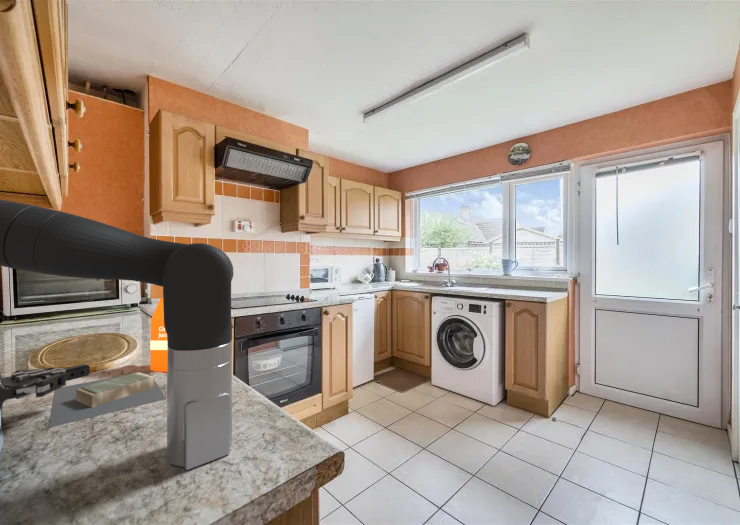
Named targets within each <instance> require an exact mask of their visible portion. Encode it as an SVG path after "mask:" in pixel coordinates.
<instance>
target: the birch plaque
mask: <svg viewBox="0 0 740 525" xmlns="http://www.w3.org/2000/svg"><path fill="white" fill-rule="evenodd" d="M120 376H121V377H118V376H117V377H118V378H114V379H110V380H107V381H103V382H99V383H96V384H92V385H88V386H85V387H82V388H79V389H76V401H78V402H81V403H83V404H85V405H88V406H90V407H95V406H98V405H102V404H105V403H108V402H111V401H114V400H117V399H120V398H123V397H126V396H129V395H133V394H136V393H139V392H142V391H145V390H148V389H151V388H154V387H155V382H156V377H155V376H149V375H146V374H143V373H140V371H139V372H132V373H129V374H125V376H124V375H120Z"/></svg>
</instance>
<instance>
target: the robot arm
mask: <svg viewBox="0 0 740 525" xmlns="http://www.w3.org/2000/svg"><path fill="white" fill-rule="evenodd" d="M0 266H1V267H4V268H10V269H13V270H20V271H26V272H31V273H32V272H33V273H37V274H44V275H50V276H58V277H68V278H78V279H93V280H94V279H95V280H118V281H119V280H120V281H121V280H122V281H134V282H139V283H145V284H149V285H152V286H153V285H154V286H158V287H162V298H163V309H164V327H165V331H166V334H167V346H168V347H167V371H166V378H167V379H166V385H167V386H166V459H167V462H168V463H169V464H171V465H172V466H176V467H182V468H184V469H185V470H186V471H188V470H189V471H190V470H191V469H194V468H196V467H199V466H201V465H205V464H206V463H209V462H212V461H215V460H217V459H220V458H222V457H225V456H227V455H230V453H231V447H232V440H233V438H232V437H233V436H232V435H233V434H232V432H233V431H232V430H233V429H232V428H233V425H232V424H233V421H232V420H233V418H232V417H233V416H232V414H233V413H232V410H233V408H232V406H233V405H232V404H233V399H232V397H233V394H232V391H233V390H232V389H233V386H232V384H233V382H232V381H233V379H232V377H233V376H232V375H233V374H232V373H233V371H232V370H233V366H232V365H233V364H232V363H233V362H232V361H233V322H232V280H233V278H234V265H233V263H232V261H231V258H230V257H229V256H228V255H227V253H226V252H224V251H223V250H222V249H220V248H218V247H217V246H214V245H211V244H207V243H201V242H193V243H181V242H175V241H174V242H173V241H167V240H161V239H157V238H150V237H146V236H143V235H140V234H137V233H134V232H131V231H127V230H125V229H122V228H119V227H116V226H112V225H110V224H106V223H103V222H102V221H101V222H100V221H97V220H94V219H90V218H87V217H83V216H79V215H76V214H73V213H69V212H65V211H60V210H55V209H52V208H47V207H43V206H38V205H33V204H29V203H22V202H18V201H12V200H11V201H10V200H5V199H0ZM90 368H91V367H90V365H88V364H85V363H83V364H78V365H74V366H70V367H65V368H63V367H57V368H55V367H51V366H50V367H46V368H44V367H43V368H35V369H23V370H15V371H13V372H12V373H10V376H4V377H2V375H1V373H0V411H1V410H2V408H3V404H4V402H5V401H6V400H11V399H16V400H21V399H24V398H29V397H30V396H32V395H34V394H35V397H36V398H42V397H44V396H47V395H49V394H50V393H52V392H55V390H57V389H59V388H61V387H65V386H67V385H66V384H67V382H68V381H72V380H75V379H79V378H84V377H88V376H89V375H90Z"/></svg>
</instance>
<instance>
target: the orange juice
mask: <svg viewBox="0 0 740 525" xmlns="http://www.w3.org/2000/svg"><path fill="white" fill-rule="evenodd" d="M151 316H152V317H151V318H150V341H149V342H150V347H149V348H150V370H151V371H154V372H167V347H168V346H167V334H166V331H165V327H164V309H163V297H159V300H158V302H157V305H156V307H155V310H154V312H153V314H152V315H151Z"/></svg>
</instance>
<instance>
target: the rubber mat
mask: <svg viewBox="0 0 740 525" xmlns="http://www.w3.org/2000/svg"><path fill="white" fill-rule="evenodd" d="M139 373H143V374H146V375H149V376H152V374H151V373H150V371H149V370H147V371H139ZM125 375H126V374H125ZM125 375H124V374H123V376H125ZM121 376H122V375H119V376H115V377H114V376H113V377H108V378H104V379H103V378H102V379H97V380H93V381H92V380H91V381H86V382H82V383H77V384H72V385H65V386H63V387H61V388H59V389H57V390H54V395H53V399H52V400H53V401H52V405H51V406H52V407H51V411H50V418H49V424H48V428H53V427H58V426H61V425H65V424H69V423H73V422H78V421H82V420H86V419H90V418H96V417H99V416H102V415H106V414H112V413H115V412H119V411H123V410H127V409H128V410H129V409H131V408H135V407H140V406H144V405H147V404H152V403H155V402H159V401H164V400H167V396H166V395H165V394H164V393H163V391H162V389H161V388H160V386H159V385H158V384H157V382H156V381H155V387H154V388H151V389H148V390H145V391H142V392H139V393H136V394H133V395H129V396H126V397H123V398H120V399H117V400H114V401H111V402H108V403H105V404H102V405H98V406H95V407H90V406H88V405H85V404H83V403H81V402H78V401H76V389H79V388H82V387H85V386H88V385H92V384H96V383H99V382H103V381H107V380H110V379H114V378H118V377H121Z"/></svg>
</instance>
